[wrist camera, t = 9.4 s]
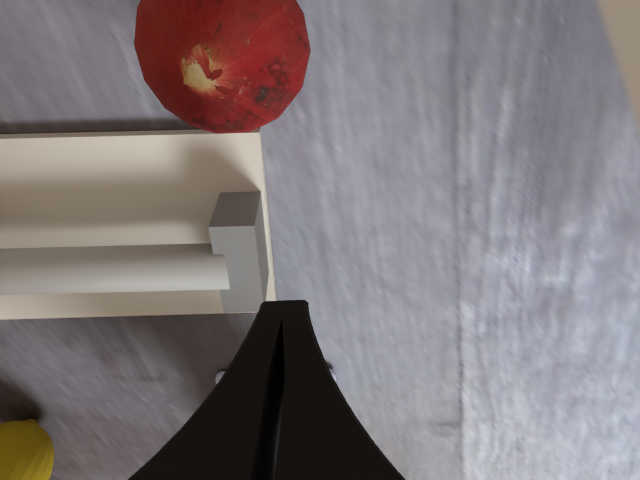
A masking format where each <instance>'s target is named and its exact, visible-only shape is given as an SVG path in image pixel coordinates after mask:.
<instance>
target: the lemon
mask: <svg viewBox="0 0 640 480" xmlns="http://www.w3.org/2000/svg"><path fill="white" fill-rule="evenodd" d="M53 462H54V447H53V443H52V440H51V438H50V436H49V435H48V434H47V432H46V431H45V430H44V429H43V428H41V427H40V426H39V425H38V423H37V421H36V420H35V419H27V420H24V421H9V422H5V423H1V424H0V480H49V477H50V475H51V471H52V468H53Z"/></svg>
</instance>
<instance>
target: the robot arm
mask: <svg viewBox="0 0 640 480" xmlns="http://www.w3.org/2000/svg"><path fill="white" fill-rule="evenodd" d="M215 381H216V386H215V387H214V389H213V390H212V392H211V393H210V394H209V395H208V397H207V398H206V399H205V401H204V402H203V403H202V404H201V406H200V407H199V408H198V409H197V410H196V412H195V413H194V414H193V415H192V416H191V418H190V419H189V420H188V421H187V422H186V423H185V424H184V426H183V427H182V428H181V429H180V430H179V431H178V432H177V433H176V434H175V435H174V436H173V437H172V438H171V439H170V440H169V441H168V442H167V443H166V444H165V445H164V446H163V447H162V448H161V449H160V450H159V451H158V452H157V453H156V455H155V456H153V457H152V458H151V459H150V460H149V461H148V462H147V463H146V464H145V465H144V466H143V467H141V468H140V469H139V470H138V471H137V472H136V473H135V474H134V475H132V476H131V477H130V478H129V479H128V480H405V479H404V477H403V476H402V475H401V474H400V473H399V472H398V471H397V470H396V468H395V467H394V466H393V465H392V464H391V463H390V461H389V460H388V459H387V458H386V457H385V455H384V454H383V453H382V452H381V450H380V449H379V448H378V446H377V445H376V444H375V443H374V441H373V440H372V439H371V437H370V436H369V434H368V433H367V432H366V430H365V429H364V427H363V426H362V424H361V423H360V422H359V420H358V419H357V417H356V416H355V414H354V413H353V411H352V410H351V408H350V406H349V405H348V403H347V402H346V400H345V398H344V396H343V395H342V393H341V391H340V389H339V388H338V386H337V384H336V373H335V371H334V370H332V369H329V368H328V366H327V364H326V361H325V359H324V357H323V354H322V352H321V349H320V347H319V344H318V342H317V339H316V336H315V333H314V330H313V327H312V323H311V319H310V315H309V307H308V302H306V301H305V300H286V301H264V302H263V303H261V305H260V308H259V311H258V313H257V315H256V318H255V320H254V322H253V324H252V326H251V328H250V330H249V332H248V334H247V336H246V338H245V340H244V342H243V343H242V345H241V347H240V349H239V351H238V352H237V354H236V356H235V357H234V359H233V360H232V362H231V364H230V365H229V367H228V368H227V370H226V371H223V372H219V373H217V375H216V378H215Z"/></svg>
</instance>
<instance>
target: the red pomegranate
mask: <svg viewBox="0 0 640 480" xmlns="http://www.w3.org/2000/svg"><path fill="white" fill-rule="evenodd" d="M134 44H135V50H136V53H137V56H138V60H139V63H140V67H141V70H142V73H143V77H144V80H145V82H146V83H147V84H148V86H149V87H150V89H151V90H152V91H153V93H154V94H155V95H156V97H157V98H158V99H159V101H160V102H161V104H162V105H163V106H164V108H166V109H167V110H169V111H170V112H171V113H173V114H174V115H176V116H177V117H178V118H180V119H181V120H183V121H184V122H185V123H187V124H188V125H190V126H193V127H196V128H200V129H203V130H206V131H209V132H213V133H216V134H225V133H247V132H251V131H253V130H255V129H257V128H259V127H261V126H263V125H265V124H267V123H269V122H271V121H273V120H275V119H277V118H279V116H280V115H281V114H282V113H283V111H284V110H285V109H286V108H287V106H288V105H289V104H290V103H291V101H292V100H293V99H294V98H295V96H296V95H297V94H298V93H299V91H300V90H301V88H302V86H303V82H304V77H305V73H306V69H307V64H308V60H309V55H310V51H311V50H310V45H309V40H308V34H307V29H306V24H305V18H304V13H303V12H302V10H301V8H300V6H299V5H298V3H297V1H296V0H141V1H140V3H139V5H138V7H137V16H136V28H135V40H134Z"/></svg>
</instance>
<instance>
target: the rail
mask: <svg viewBox="0 0 640 480" xmlns="http://www.w3.org/2000/svg"><path fill="white" fill-rule="evenodd" d="M264 301H277V298H276V287H275V276H274V266H273V255H272V245H271V234H270V223H269V213H268V202H267V192H266V181H265V170H264V160H263V149H262V138H261V128H257V129H255V130H253V131H251V132H247V133H225V134H216V133H213V132H209V131H206V130H203V129H198V130H157V131H116V132H75V133H34V134H0V319H37V318H74V317H111V316H148V315H185V314H222V313H258V311H259V308H260V305H261V303H263V302H264Z"/></svg>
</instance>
